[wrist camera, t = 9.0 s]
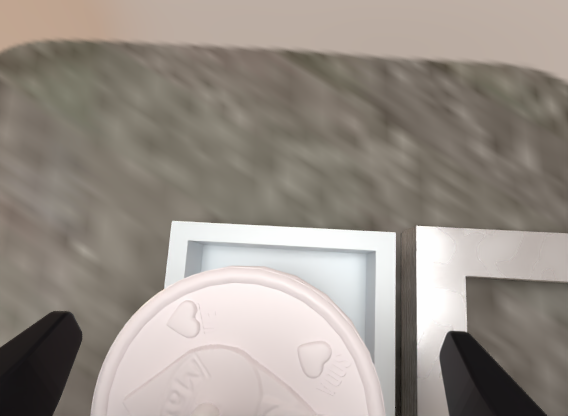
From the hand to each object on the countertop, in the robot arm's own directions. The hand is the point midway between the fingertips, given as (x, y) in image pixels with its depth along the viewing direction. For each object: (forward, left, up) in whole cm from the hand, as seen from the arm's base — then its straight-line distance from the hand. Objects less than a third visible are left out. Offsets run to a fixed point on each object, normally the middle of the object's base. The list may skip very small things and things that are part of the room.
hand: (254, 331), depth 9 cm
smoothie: (-2, 0, -9) cm, 9 cm away
